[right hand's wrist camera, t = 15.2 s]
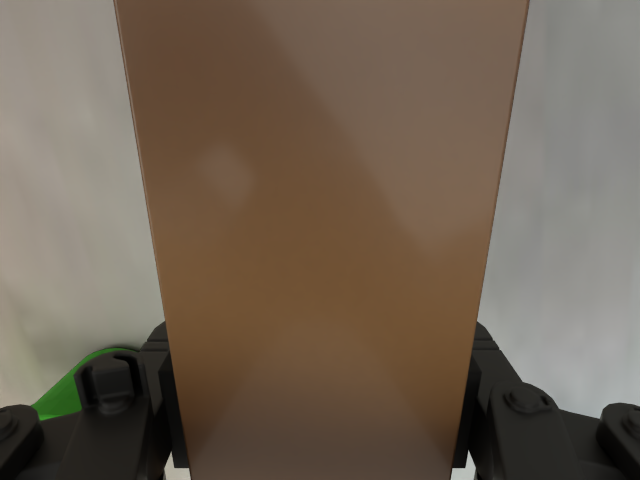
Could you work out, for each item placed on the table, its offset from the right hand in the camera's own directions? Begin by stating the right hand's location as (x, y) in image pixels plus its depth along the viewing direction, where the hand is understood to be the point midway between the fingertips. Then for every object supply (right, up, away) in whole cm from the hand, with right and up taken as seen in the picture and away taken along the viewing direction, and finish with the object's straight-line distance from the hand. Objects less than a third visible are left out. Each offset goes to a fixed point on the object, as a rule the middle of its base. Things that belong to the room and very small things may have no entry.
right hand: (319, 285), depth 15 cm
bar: (0, +18, -6) cm, 20 cm away
